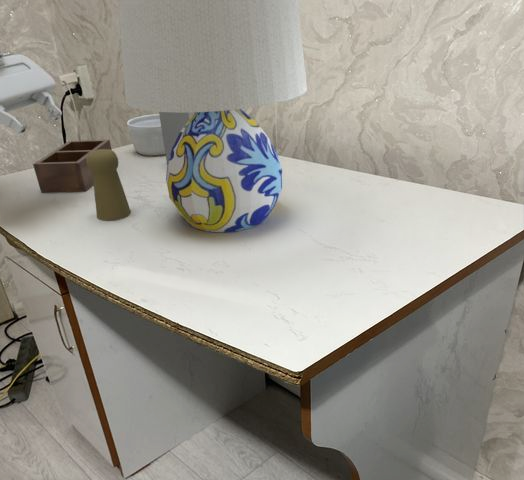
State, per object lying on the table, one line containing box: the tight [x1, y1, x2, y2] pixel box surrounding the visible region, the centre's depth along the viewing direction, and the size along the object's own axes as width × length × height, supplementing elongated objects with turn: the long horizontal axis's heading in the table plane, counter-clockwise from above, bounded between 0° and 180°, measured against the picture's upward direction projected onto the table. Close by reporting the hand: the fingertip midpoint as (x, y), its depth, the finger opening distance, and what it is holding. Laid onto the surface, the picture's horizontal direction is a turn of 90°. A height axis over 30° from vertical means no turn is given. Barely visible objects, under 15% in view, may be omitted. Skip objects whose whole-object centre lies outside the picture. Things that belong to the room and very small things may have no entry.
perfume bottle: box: [158, 112, 195, 165], centre depth 114 cm, size 7×7×18 cm
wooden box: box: [32, 139, 113, 193], centre depth 113 cm, size 10×18×6 cm, turn 174°
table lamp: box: [117, 0, 308, 233], centre depth 80 cm, size 27×27×40 cm
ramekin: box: [126, 113, 166, 157], centre depth 129 cm, size 13×13×7 cm
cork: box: [86, 149, 132, 221], centre depth 92 cm, size 6×6×11 cm
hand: (41, 123), depth 90 cm, fingers open, 8 cm apart
